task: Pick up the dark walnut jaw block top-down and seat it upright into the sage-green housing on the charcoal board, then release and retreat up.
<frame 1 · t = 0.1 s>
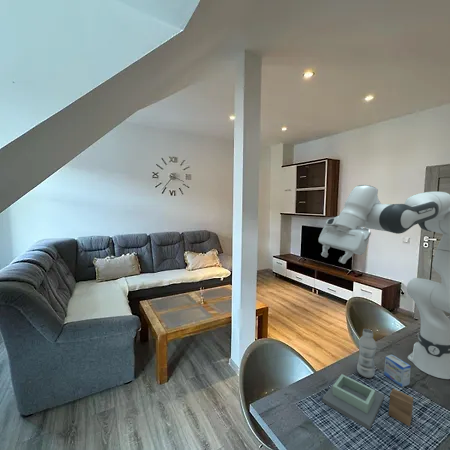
hand: (332, 259, 89), 54 cm above the table, tool tilted 30°, fingers open, 8 cm apart
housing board: (353, 400, 93), on the table
walnut jaw block: (400, 416, 86), on the table
medicine box: (396, 380, 103), on the table
plastic bottle: (365, 375, 106), on the table
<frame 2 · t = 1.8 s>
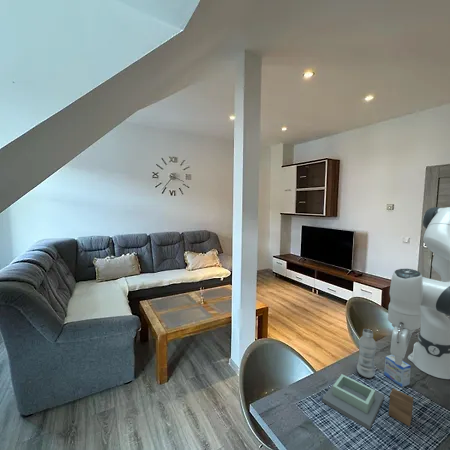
hand: (400, 357, 83), 23 cm above the table, tool pointing down, fingers open, 8 cm apart
nothing on the table moved.
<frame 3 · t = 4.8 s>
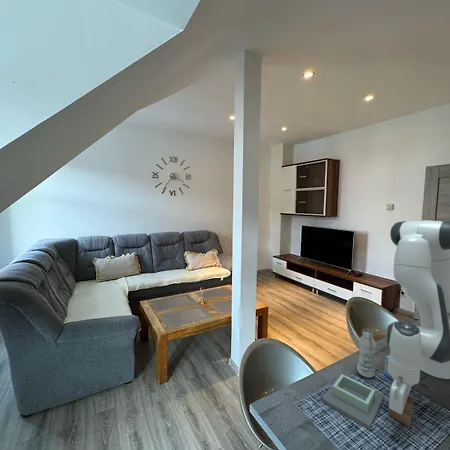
hand: (400, 407, 85), 4 cm above the table, tool pointing down, fingers closed on walnut jaw block, 4 cm apart
walnut jaw block: (400, 416, 86), on the table, touching gripper
everything else where it was.
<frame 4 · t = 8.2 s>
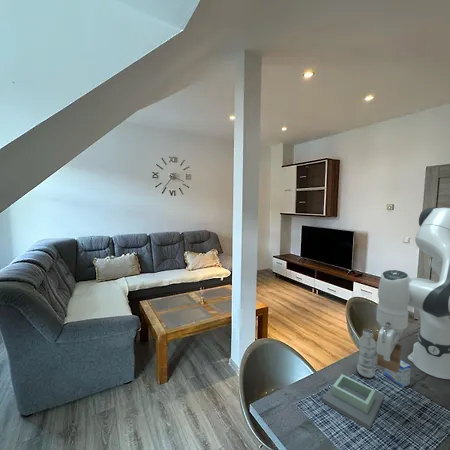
hand: (389, 356, 85), 21 cm above the table, tool pointing down, fingers closed on walnut jaw block, 4 cm apart
walnut jaw block: (388, 365, 86), point 18 cm above the table, touching gripper
everything else where it was.
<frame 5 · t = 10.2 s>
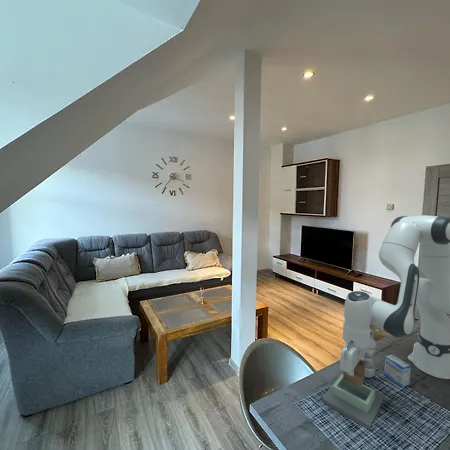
hand: (354, 371, 92), 12 cm above the table, tool pointing down, fingers closed on walnut jaw block, 4 cm apart
walnut jaw block: (353, 380, 92), point 8 cm above the table, touching gripper
everything else where it was.
when the fingers open (7 cm above the table, at t = 11.9 s): walnut jaw block drops 1 cm, resting on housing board.
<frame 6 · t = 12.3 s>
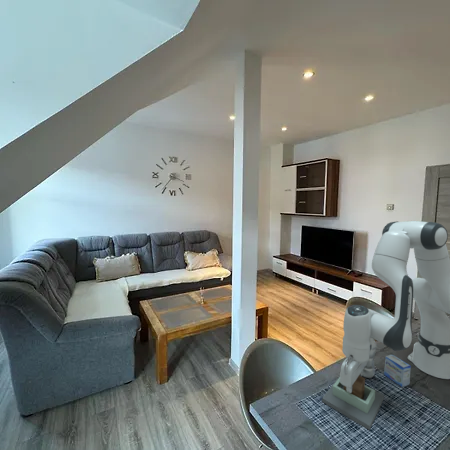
hand: (354, 384, 92), 7 cm above the table, tool pointing down, fingers open, 8 cm apart
walnut jaw block: (353, 396, 93), point 1 cm above the table, touching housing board
everything else where it was.
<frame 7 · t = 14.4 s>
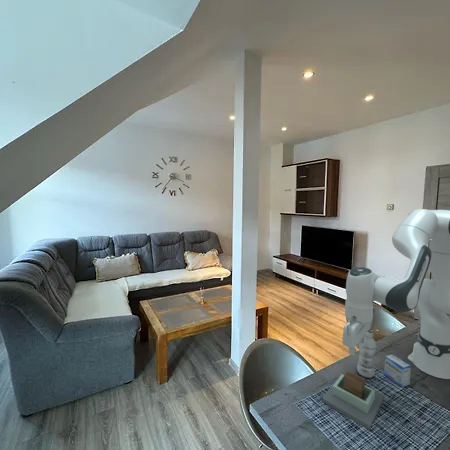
hand: (356, 348, 91), 21 cm above the table, tool pointing down, fingers open, 8 cm apart
nothing on the table moved.
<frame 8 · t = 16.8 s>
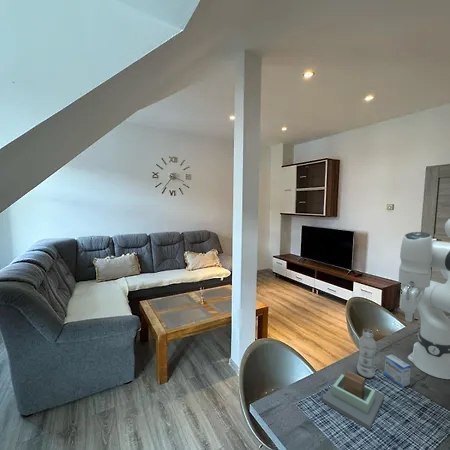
hand: (411, 316, 88), 34 cm above the table, tool pointing down, fingers open, 8 cm apart
nothing on the table moved.
at the end: walnut jaw block 0.1 cm off-centre on the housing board, point 1.5 cm above the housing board's base; walnut jaw block tilted 0°; the gripper is holding nothing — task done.
